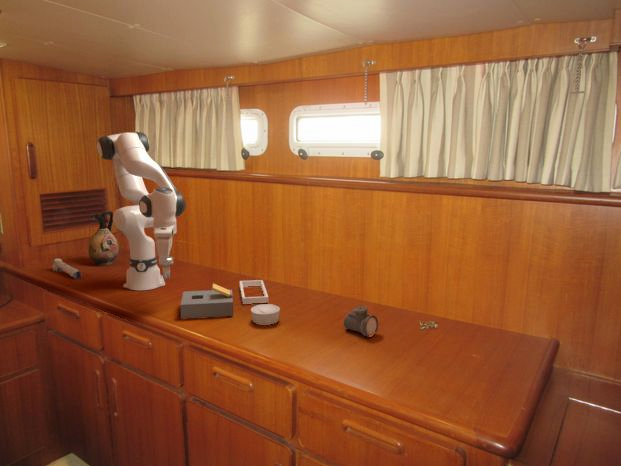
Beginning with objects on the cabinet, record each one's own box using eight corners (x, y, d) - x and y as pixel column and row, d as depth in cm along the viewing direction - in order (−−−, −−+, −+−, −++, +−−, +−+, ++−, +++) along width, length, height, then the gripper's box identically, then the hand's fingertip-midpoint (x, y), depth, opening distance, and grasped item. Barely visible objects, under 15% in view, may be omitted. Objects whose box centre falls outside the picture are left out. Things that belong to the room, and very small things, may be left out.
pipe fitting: (380, 333, 162) (378, 306, 160) (367, 341, 156) (364, 314, 154) (355, 327, 170) (352, 302, 168) (341, 334, 165) (338, 308, 163)
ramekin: (245, 324, 168) (245, 311, 167) (259, 314, 179) (259, 302, 178) (271, 329, 164) (271, 315, 163) (284, 318, 175) (284, 306, 174)
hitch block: (183, 305, 187) (183, 291, 186) (231, 302, 191) (231, 289, 190) (181, 319, 172) (180, 304, 170) (233, 316, 176) (233, 302, 175)
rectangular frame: (239, 286, 213) (239, 281, 212) (262, 285, 215) (262, 280, 214) (242, 304, 189) (242, 298, 188) (268, 303, 191) (268, 297, 190)
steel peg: (160, 276, 182) (159, 256, 180) (174, 275, 183) (173, 256, 181) (158, 280, 176) (157, 260, 175) (173, 279, 178) (172, 259, 176)
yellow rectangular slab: (212, 285, 183) (213, 282, 183) (231, 293, 185) (232, 290, 185) (212, 290, 177) (213, 287, 177) (231, 298, 179) (233, 295, 179)
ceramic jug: (100, 268, 238) (96, 213, 232) (84, 264, 246) (79, 211, 240) (128, 262, 252) (125, 210, 246) (112, 258, 260) (108, 208, 254)
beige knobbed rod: (72, 272, 217) (49, 256, 232) (72, 285, 219) (50, 268, 234) (83, 270, 222) (60, 255, 236) (83, 282, 223) (60, 266, 238)
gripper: (159, 223, 185) (160, 255, 187) (153, 234, 165) (154, 269, 168) (175, 223, 186) (176, 255, 189) (171, 234, 166) (171, 269, 169)
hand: (166, 262), depth 178 cm, fingers closed on steel peg, 6 cm apart
